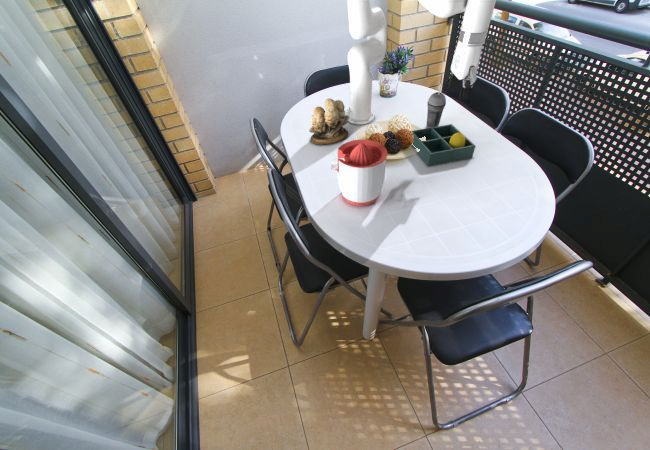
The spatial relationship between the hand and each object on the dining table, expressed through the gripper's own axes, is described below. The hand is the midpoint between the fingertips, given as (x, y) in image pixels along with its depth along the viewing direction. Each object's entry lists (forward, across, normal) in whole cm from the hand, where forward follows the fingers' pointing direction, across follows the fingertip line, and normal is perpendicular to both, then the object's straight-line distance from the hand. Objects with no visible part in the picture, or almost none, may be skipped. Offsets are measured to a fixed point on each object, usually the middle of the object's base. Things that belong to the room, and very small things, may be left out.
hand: (458, 93), depth 108 cm
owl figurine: (+24, -18, -44) cm, 53 cm away
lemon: (+22, +3, +3) cm, 22 cm away
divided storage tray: (+23, -1, -2) cm, 23 cm away
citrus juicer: (+23, +23, -37) cm, 49 cm away
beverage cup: (+23, -18, 0) cm, 29 cm away
